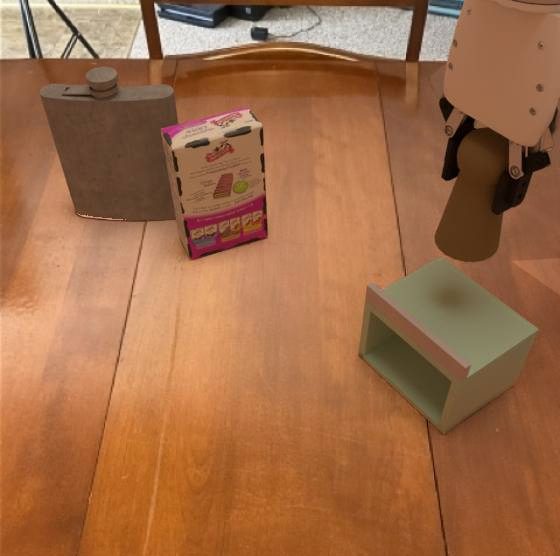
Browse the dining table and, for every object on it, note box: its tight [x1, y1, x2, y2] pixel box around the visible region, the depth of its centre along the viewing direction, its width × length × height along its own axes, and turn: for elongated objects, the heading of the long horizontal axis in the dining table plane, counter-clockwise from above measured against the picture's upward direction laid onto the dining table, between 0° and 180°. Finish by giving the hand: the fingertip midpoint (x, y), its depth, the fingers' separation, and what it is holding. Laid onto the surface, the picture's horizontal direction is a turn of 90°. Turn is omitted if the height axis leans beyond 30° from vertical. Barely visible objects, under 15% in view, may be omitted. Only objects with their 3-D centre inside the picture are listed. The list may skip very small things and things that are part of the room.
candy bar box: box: [161, 106, 269, 260], centre depth 84 cm, size 11×5×16 cm, turn 114°
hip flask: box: [39, 66, 179, 222], centre depth 86 cm, size 16×4×20 cm, turn 88°
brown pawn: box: [433, 126, 509, 263], centre depth 60 cm, size 6×6×11 cm
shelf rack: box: [357, 255, 540, 436], centre depth 71 cm, size 11×14×11 cm
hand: (480, 189), depth 60 cm, fingers closed on brown pawn, 5 cm apart
